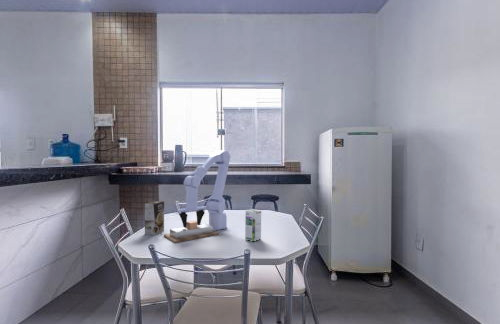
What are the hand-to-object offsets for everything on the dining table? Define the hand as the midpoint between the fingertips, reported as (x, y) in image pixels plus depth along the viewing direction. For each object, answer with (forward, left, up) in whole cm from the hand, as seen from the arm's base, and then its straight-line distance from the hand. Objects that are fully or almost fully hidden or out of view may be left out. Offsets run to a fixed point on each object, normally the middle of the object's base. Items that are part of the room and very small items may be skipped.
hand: (191, 226), depth 142 cm
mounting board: (0, 0, -5) cm, 5 cm away
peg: (0, 0, -4) cm, 4 cm away
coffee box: (+13, -17, -5) cm, 22 cm away
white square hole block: (0, 0, -5) cm, 5 cm away
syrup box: (-20, +25, -5) cm, 32 cm away
